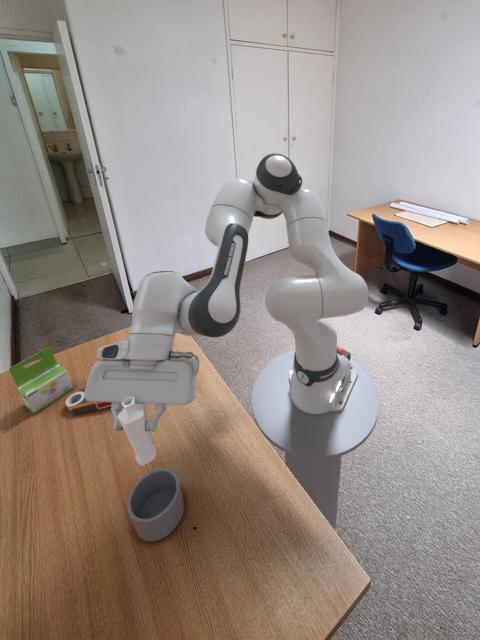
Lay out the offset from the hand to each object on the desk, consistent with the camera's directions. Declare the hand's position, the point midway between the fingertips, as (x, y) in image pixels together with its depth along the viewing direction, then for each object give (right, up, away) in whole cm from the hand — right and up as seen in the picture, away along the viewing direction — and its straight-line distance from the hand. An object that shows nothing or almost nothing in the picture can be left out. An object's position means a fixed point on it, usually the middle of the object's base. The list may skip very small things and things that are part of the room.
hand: (134, 430), depth 60 cm
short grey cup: (+1, -22, +8) cm, 23 cm away
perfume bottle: (0, -7, +4) cm, 9 cm away
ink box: (-41, -10, +34) cm, 54 cm away
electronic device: (-27, -11, +33) cm, 44 cm away
